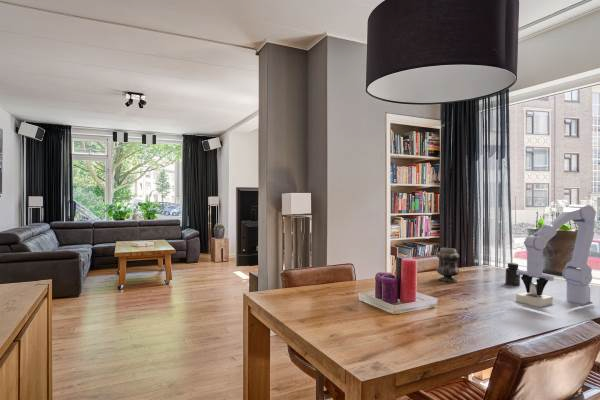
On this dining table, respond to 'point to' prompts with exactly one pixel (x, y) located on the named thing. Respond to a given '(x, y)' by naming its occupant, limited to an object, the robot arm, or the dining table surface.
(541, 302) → the cream recessed block
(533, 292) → the metal peg
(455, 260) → the apothecary jar
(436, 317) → the dining table surface
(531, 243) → the robot arm
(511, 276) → the supplement bottle
